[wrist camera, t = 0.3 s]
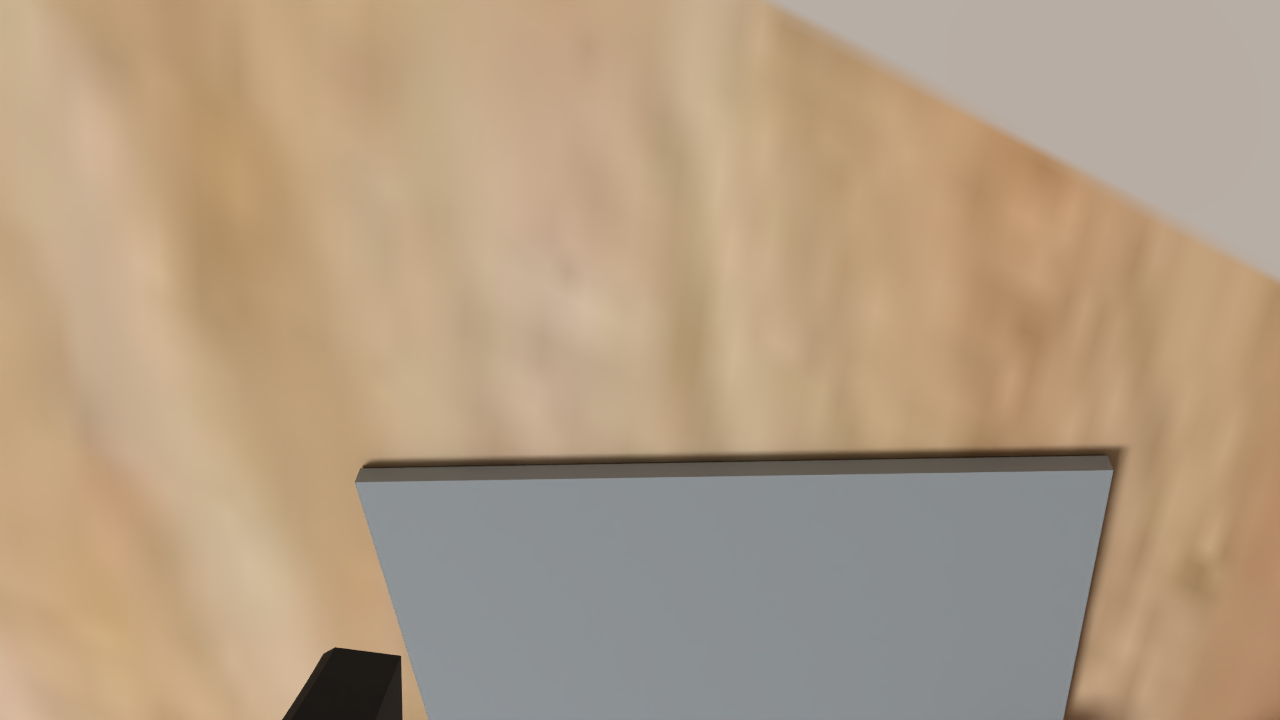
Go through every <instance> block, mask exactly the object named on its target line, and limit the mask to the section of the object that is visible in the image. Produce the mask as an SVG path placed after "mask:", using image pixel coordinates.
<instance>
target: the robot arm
mask: <svg viewBox="0 0 1280 720" xmlns="http://www.w3.org/2000/svg"><path fill="white" fill-rule="evenodd" d="M282 720H402V679H401V656H398V655H390V654H382V653H374V652H367V651H359V650H351V649H344V648H336V647H335V648H333V649H332V650H330V651H328V652H326V653H324V654H323V656H322V657H321V659H320V661H319V662H318V664H317V666H316V667H315V669H314V671H313V672H312V674H311V676H310V677H309V679H308V681H307V682H306V684H305V686H304V687H303V689H302V690H301V692H300V693H299V695H298V696H297V698H296V700H295V701H294V703H293V704H292V706H291V707H290V709H289V710H288V712H287V713H286V715H285V716H284V718H283V719H282Z"/></svg>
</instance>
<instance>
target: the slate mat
mask: <svg viewBox="0 0 1280 720" xmlns="http://www.w3.org/2000/svg"><path fill="white" fill-rule="evenodd" d="M1112 475H1113V468H1112V465H1111V462H1110V460H1109V457H1108V455H1105V456H1047V457H989V458H931V459H873V460H815V461H757V462H699V463H641V464H583V465H526V466H468V467H410V468H360V471H359V473H358V476H357V478H356V481H355V484H356V488H357V491H358V494H359V497H360V500H361V504H362V507H363V510H364V513H365V517H366V520H367V523H368V526H369V529H370V533H371V536H372V539H373V542H374V546H375V549H376V552H377V555H378V558H379V562H380V565H381V568H382V571H383V574H384V578H385V581H386V584H387V587H388V591H389V594H390V597H391V600H392V603H393V607H394V610H395V613H396V616H397V620H398V623H399V626H400V629H401V632H402V636H403V639H404V642H405V645H406V648H407V652H408V655H409V658H410V661H411V665H412V668H413V671H414V674H415V677H416V681H417V684H418V687H419V690H420V694H421V697H422V700H423V703H424V706H425V710H426V713H427V716H428V719H429V720H1063V718H1064V713H1065V708H1066V703H1067V698H1068V693H1069V688H1070V683H1071V678H1072V673H1073V668H1074V663H1075V658H1076V653H1077V649H1078V644H1079V639H1080V634H1081V629H1082V624H1083V619H1084V614H1085V609H1086V604H1087V599H1088V594H1089V589H1090V584H1091V579H1092V574H1093V569H1094V564H1095V559H1096V554H1097V549H1098V544H1099V539H1100V534H1101V529H1102V524H1103V520H1104V515H1105V510H1106V505H1107V500H1108V495H1109V490H1110V485H1111V480H1112Z"/></svg>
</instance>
